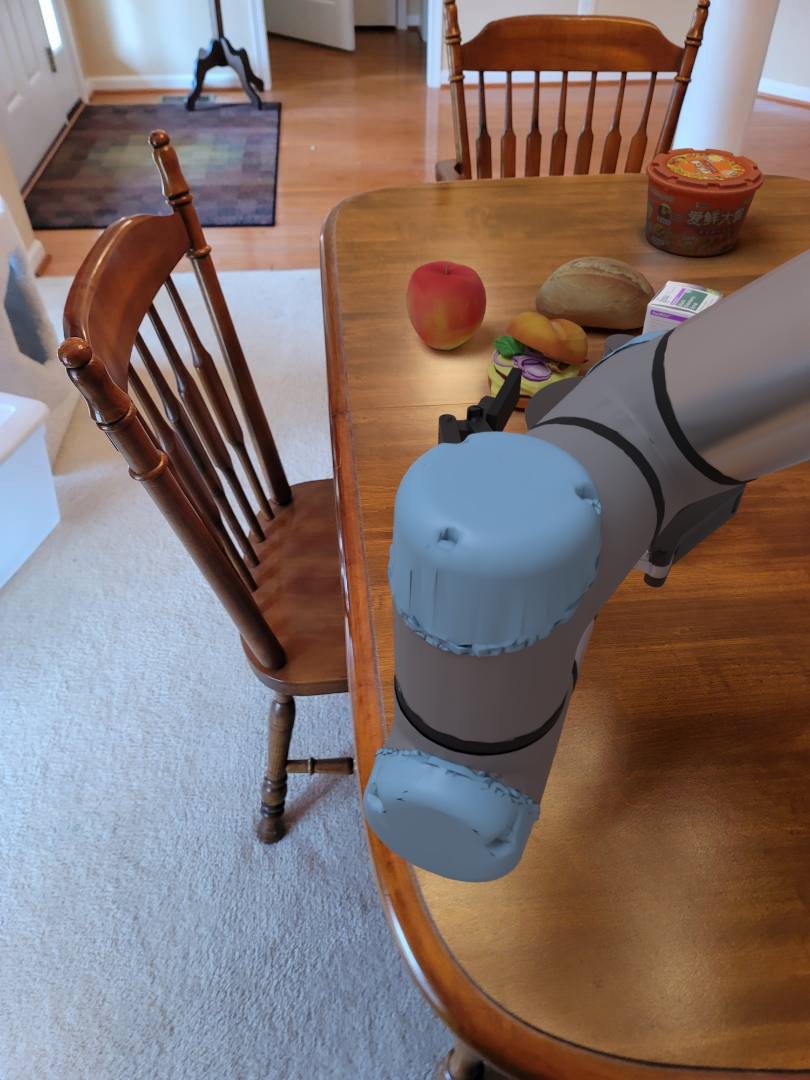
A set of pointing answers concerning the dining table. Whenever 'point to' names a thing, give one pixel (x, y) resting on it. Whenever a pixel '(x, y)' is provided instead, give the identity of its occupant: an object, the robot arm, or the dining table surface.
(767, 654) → the dining table surface
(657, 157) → the food container
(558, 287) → the bread roll
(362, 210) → the dining table surface
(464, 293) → the apple
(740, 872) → the dining table surface
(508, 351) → the cheeseburger
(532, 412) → the lid
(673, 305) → the syrup box
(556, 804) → the dining table surface
